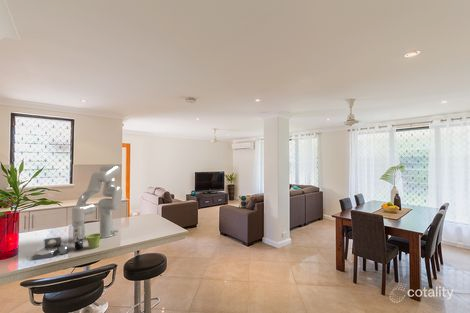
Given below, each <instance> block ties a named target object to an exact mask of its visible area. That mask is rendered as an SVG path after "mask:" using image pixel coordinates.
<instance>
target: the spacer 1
mask: <svg viewBox="0 0 470 313" xmlns="http://www.w3.org/2000/svg"><path fill="white" fill-rule="evenodd" d="M67 254H69V245H68V244H66V245H64V244H63V246H60V247H59V252H58V256H66V255H67Z"/></svg>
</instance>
